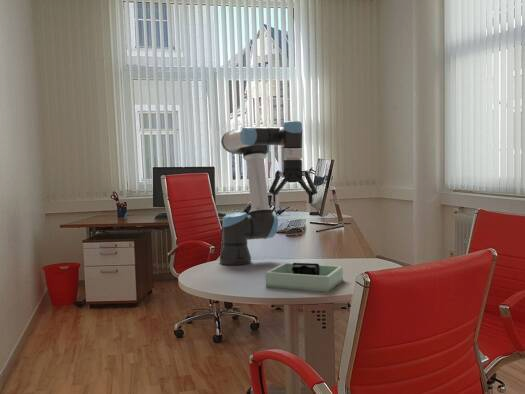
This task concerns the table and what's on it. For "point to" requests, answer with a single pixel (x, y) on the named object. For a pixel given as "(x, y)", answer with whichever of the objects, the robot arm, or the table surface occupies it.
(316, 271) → the end cap
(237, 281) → the table surface
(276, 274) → the walled box
